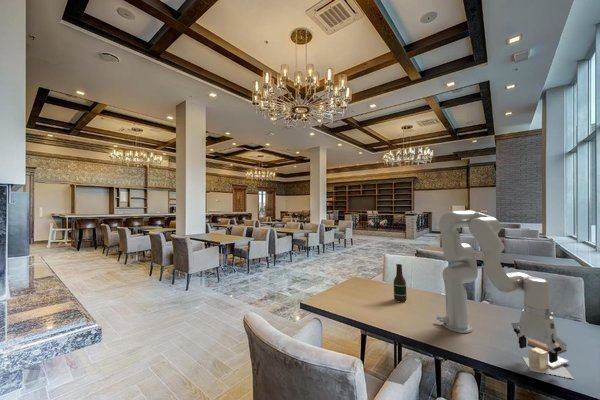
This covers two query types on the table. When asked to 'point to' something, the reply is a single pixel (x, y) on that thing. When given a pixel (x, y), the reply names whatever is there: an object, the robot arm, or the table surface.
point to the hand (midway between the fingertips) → (537, 354)
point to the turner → (543, 359)
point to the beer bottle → (399, 285)
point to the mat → (551, 370)
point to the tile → (541, 345)
